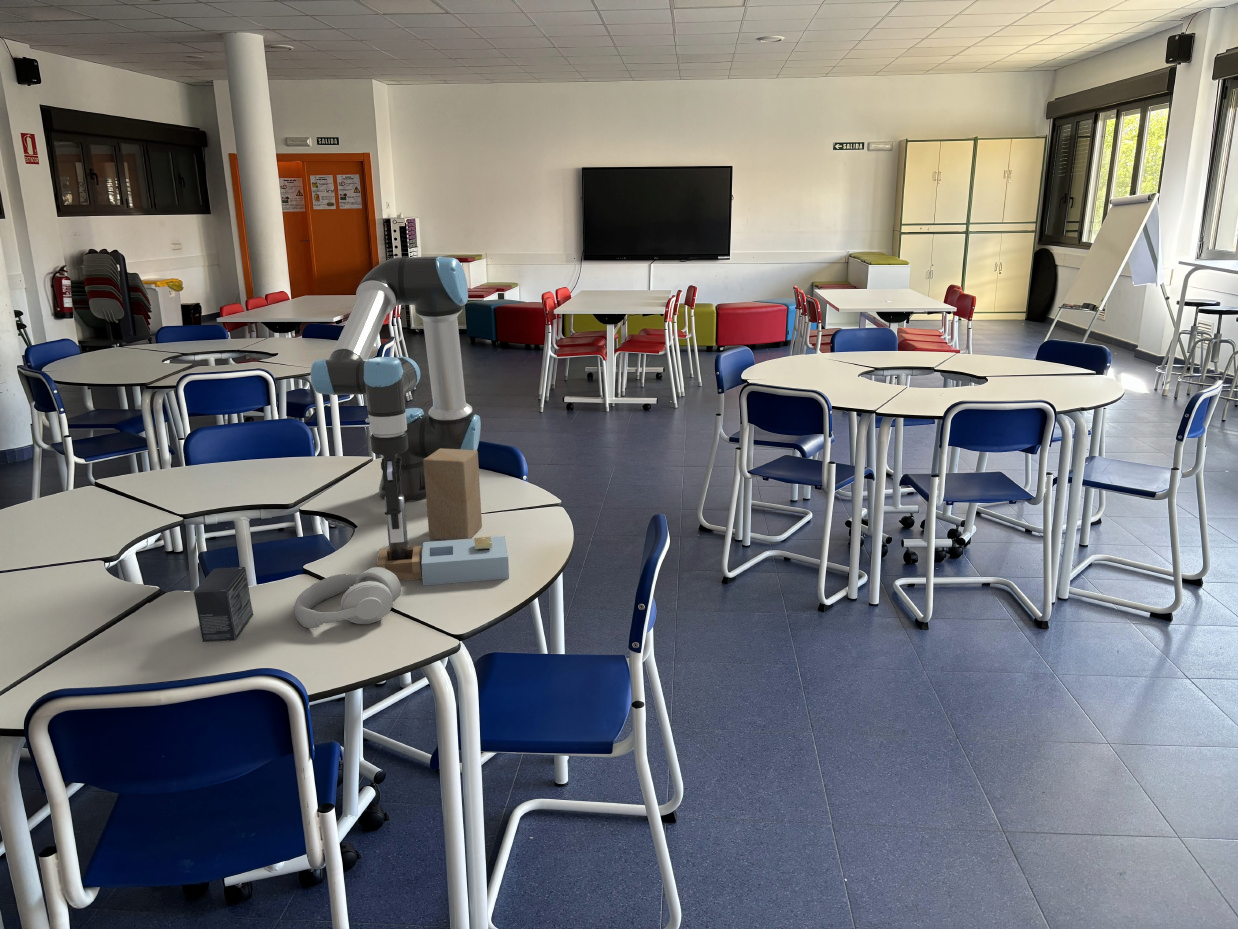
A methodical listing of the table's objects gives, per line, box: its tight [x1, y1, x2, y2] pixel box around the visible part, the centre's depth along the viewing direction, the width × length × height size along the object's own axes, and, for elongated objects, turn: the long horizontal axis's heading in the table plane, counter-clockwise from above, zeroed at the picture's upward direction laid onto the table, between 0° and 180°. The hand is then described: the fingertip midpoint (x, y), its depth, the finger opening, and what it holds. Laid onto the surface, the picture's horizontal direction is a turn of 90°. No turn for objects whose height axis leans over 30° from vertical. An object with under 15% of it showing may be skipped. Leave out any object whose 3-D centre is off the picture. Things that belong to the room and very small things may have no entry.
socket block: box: [421, 535, 510, 586], centre depth 189 cm, size 12×18×5 cm, turn 101°
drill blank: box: [384, 494, 409, 561], centre depth 186 cm, size 4×4×16 cm
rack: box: [375, 545, 423, 582], centre depth 188 cm, size 9×9×4 cm
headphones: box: [293, 566, 402, 630], centre depth 170 cm, size 18×8×20 cm
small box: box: [193, 566, 254, 643], centre depth 163 cm, size 11×6×10 cm, turn 5°
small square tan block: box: [474, 536, 492, 551], centre depth 189 cm, size 4×4×6 cm
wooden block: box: [423, 448, 483, 541], centre depth 208 cm, size 10×10×20 cm
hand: (397, 537), depth 186 cm, fingers closed on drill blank, 4 cm apart
